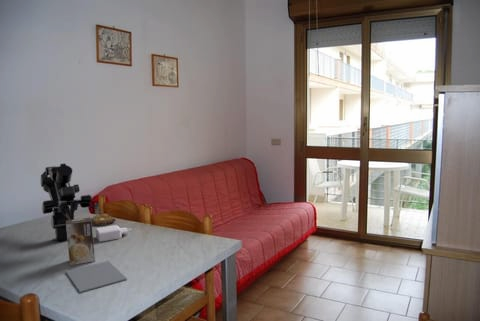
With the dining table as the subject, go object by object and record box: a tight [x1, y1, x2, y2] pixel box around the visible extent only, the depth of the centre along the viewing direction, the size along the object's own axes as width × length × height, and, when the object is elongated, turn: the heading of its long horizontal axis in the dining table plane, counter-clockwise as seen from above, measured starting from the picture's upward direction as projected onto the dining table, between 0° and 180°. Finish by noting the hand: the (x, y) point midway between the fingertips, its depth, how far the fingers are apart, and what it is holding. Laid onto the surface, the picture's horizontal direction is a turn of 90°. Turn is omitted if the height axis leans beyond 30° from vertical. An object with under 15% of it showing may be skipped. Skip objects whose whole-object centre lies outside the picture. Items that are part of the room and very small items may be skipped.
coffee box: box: [66, 217, 96, 266], centre depth 144 cm, size 9×6×16 cm
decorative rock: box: [90, 213, 116, 227], centre depth 198 cm, size 11×4×15 cm
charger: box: [95, 224, 132, 243], centre depth 173 cm, size 5×9×15 cm
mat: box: [65, 260, 128, 294], centre depth 130 cm, size 20×15×1 cm
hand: (72, 220), depth 153 cm, fingers closed
